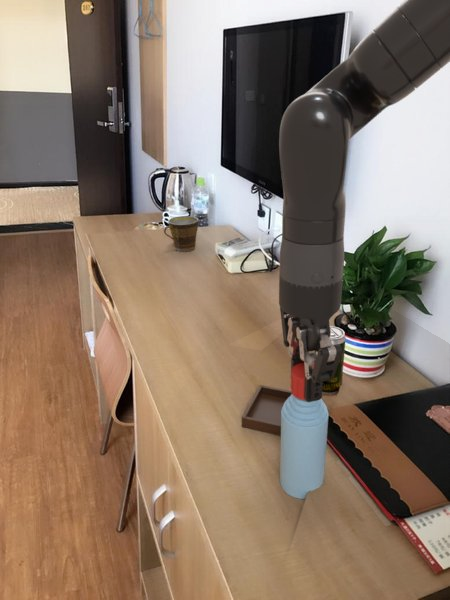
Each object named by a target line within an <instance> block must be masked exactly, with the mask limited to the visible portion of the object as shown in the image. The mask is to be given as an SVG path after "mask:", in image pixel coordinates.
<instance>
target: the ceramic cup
mask: <svg viewBox="0 0 450 600" xmlns="http://www.w3.org/2000/svg"><path fill="white" fill-rule="evenodd" d="M167 222H168V225H166V226H165V227H164V229H163V234H164V235H165V236H166V237H168V238H170V239H171V240H172V241H173V245H174V250H175V251H176V250H177V251H176V252H179V253H188V252H192V251H194V250H195V248H196V244H197V243H196V241H197V232H198V228H199V218H198V217H195V216H191V215H181V216H175V217H172V218H170V219H168V221H167ZM168 229H169V231H170V234H171V235H169V234H168V233H167V230H168Z"/></svg>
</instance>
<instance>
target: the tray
mask: <svg viewBox="0 0 450 600" xmlns="http://www.w3.org/2000/svg"><path fill="white" fill-rule="evenodd" d="M291 394H292V392H291V390H289V389H284V388H278V387H273V386H268V385H263V384H259V385H258V387H257V389H256V391H255V393H254V395H253V396H252V398H251V400H250V401H249V404H248V405H247V407H246V409H245V410H244V412H243V414H242V416H241V427H242V428H246V429H249V430H253V431H257V432H263V433H268V434H272V435H276V436H280V437H281V410H282V407H283V405H284V403H285V401H286V400H287V399H288V398H289V397H290V396H291Z"/></svg>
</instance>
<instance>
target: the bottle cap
mask: <svg viewBox="0 0 450 600" xmlns="http://www.w3.org/2000/svg"><path fill="white" fill-rule="evenodd" d="M313 368H314V363H312V369H313ZM304 388H305V365H304V363H300V364H297V365H295V366H294V367H293V368H292V373H291V372H290V391H291V392H292V394H293V395H294V396H295V397H296V398H298V399H302V400H306V399H305V398H304Z"/></svg>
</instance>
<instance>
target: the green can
mask: <svg viewBox="0 0 450 600" xmlns="http://www.w3.org/2000/svg"><path fill="white" fill-rule="evenodd" d="M330 331H331V334H330V338H329V339H330V340H331V342H332V344H333V346H334V345H341V347H342V356H341V358H340V361H339V364H338V367H337V370H336V373H335V376H334V379H333V380H328V381H323V388H322V395H325V396H334V395H336V394H338V393H339V392H340V388H341V386H342V385H343V375H344V366H345V365H344V364H345V363H344V362H345V351H346V339H347V338H346V336H345V334H346V333H345V331H344V330H343V329H342V328H340V327H337V326H335V325H330ZM316 351H319V350H316ZM316 351H314V352H316ZM313 364H315V361H314V362H313Z"/></svg>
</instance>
